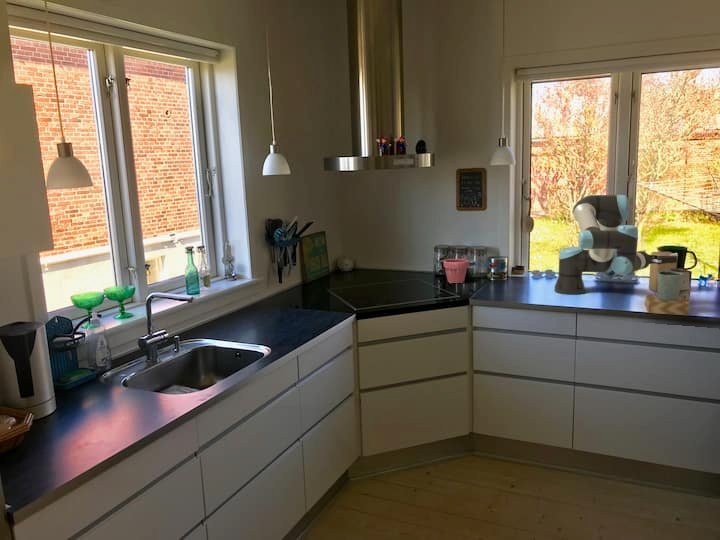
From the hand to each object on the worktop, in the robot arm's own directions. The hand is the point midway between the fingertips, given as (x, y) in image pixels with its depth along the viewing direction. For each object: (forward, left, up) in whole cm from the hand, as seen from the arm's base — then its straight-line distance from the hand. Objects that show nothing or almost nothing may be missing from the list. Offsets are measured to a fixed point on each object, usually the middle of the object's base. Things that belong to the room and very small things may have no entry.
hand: (660, 254), depth 262 cm
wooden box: (+5, +9, -27) cm, 29 cm away
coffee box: (+12, +25, -27) cm, 39 cm away
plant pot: (-99, +49, -27) cm, 114 cm away
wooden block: (+8, +52, -27) cm, 59 cm away
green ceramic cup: (+5, +8, -22) cm, 24 cm away
